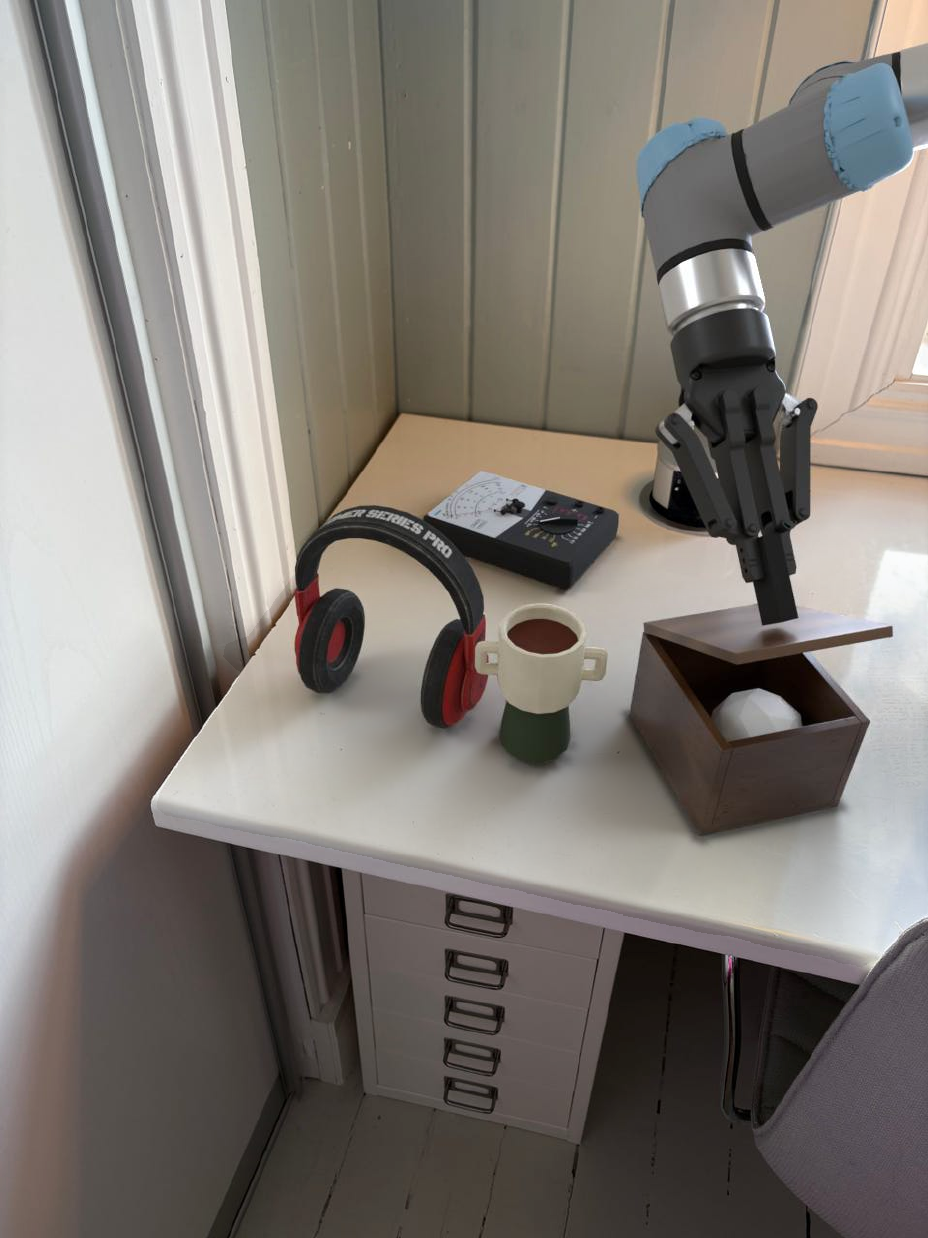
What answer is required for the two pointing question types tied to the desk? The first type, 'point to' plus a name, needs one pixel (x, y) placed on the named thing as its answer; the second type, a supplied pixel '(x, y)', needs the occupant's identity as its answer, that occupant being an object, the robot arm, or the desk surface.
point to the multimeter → (525, 528)
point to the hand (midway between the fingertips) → (779, 621)
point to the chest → (751, 767)
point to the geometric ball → (754, 715)
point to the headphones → (340, 620)
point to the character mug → (539, 677)
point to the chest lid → (764, 633)
